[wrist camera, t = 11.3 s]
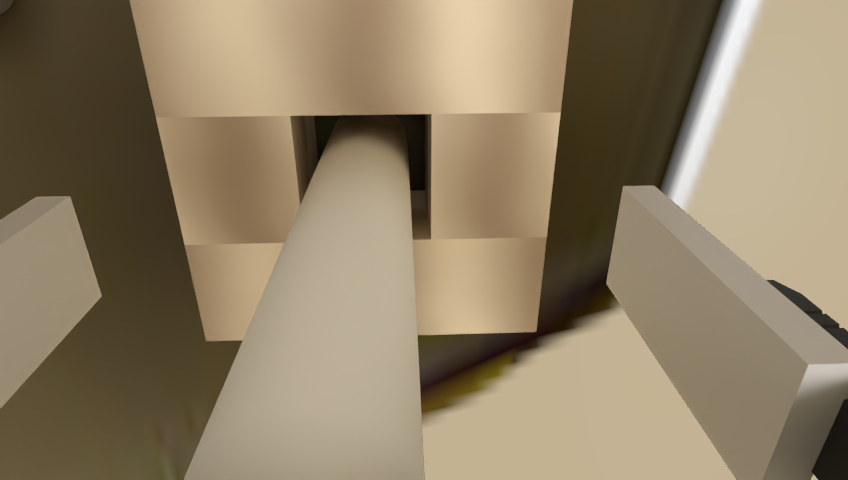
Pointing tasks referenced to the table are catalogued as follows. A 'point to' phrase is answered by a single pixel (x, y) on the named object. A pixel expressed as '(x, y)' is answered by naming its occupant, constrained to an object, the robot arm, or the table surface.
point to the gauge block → (362, 95)
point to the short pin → (5, 5)
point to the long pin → (331, 332)
